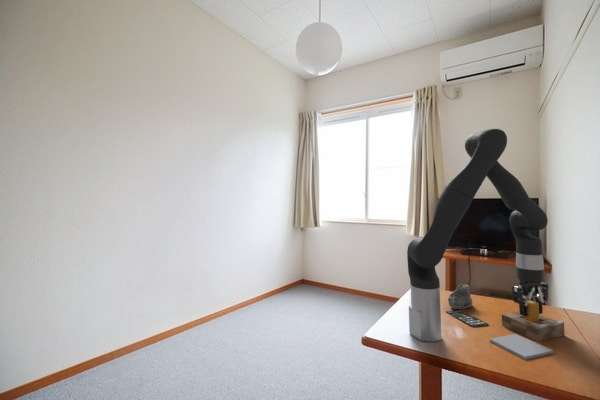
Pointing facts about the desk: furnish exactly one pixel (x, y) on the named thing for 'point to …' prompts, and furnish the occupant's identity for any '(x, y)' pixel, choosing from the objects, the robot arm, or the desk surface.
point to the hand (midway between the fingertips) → (531, 314)
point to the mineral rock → (461, 297)
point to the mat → (521, 346)
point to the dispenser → (533, 326)
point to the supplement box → (532, 312)
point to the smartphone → (467, 318)
